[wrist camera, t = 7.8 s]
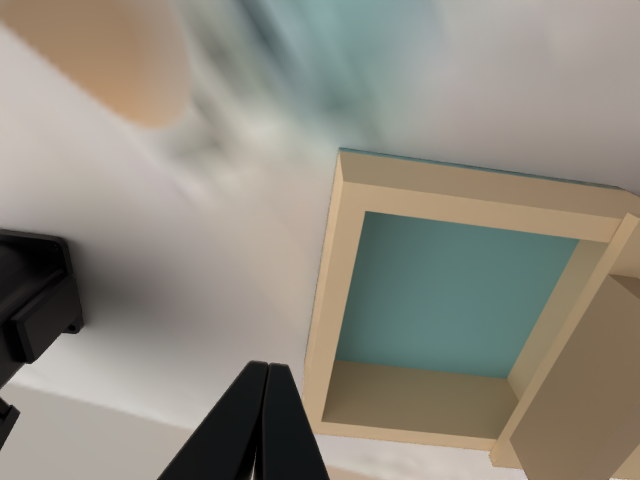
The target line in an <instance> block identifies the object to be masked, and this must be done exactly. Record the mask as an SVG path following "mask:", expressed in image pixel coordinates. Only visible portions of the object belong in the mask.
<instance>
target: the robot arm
mask: <svg viewBox="0 0 640 480" xmlns="http://www.w3.org/2000/svg"><path fill="white" fill-rule="evenodd" d="M54 245H55V246H57V248H58V249H57V248H56V247H54ZM73 325H74V326H73ZM83 327H84V323H83V318H82V313H81V305H80V300H79V296H78V291H77V286H76V281H75V278H74V275H73V270H72V265H71V261H70V256H69V251H68V246H67V244H66V242H65V241H64V240H63V239H61V238H59V237H55V236H46V235H38V234H30V233H22V232H14V231H6V230H0V389H1V388H2V387H3V386H4V385H5V384H6V383H7V382H8V381H9V380H10V379H11V378H12V377H13V376H14V375H15V373H16V372H17V371H18V370H19V369H20V368H21V367H22V366H23V365H24V364H25V363H26V364H32V363H33V362H34V361H36V360H37V359H38V358H39V357H40V356H41V355H42V354H43V353H44V352H45V350H46V349H47V348H48V347H49V346H50V345H51V344H52V343H53V342H54V341H55V340H56V339H57V337H58V336H59V335H60V334H61V333H69V334H77V333H79V332H80V330H81V329H82V328H83ZM268 367H269V368H268ZM19 414H20V411H19V410H17V409H16V408H15V407H14V406H13V405H9V404H8V403H6V402H5V401H4V400H3V399H2V398H1V397H0V450H1V448H2V446H3V445H4V442H5V441H6V439H7V437H8V435H9V433H10V432H11V430H12V428H13V426H14V424H15V422H16V420H17V419H18V417H19ZM256 449H257V450H256ZM255 456H256V457H255ZM254 462H255V465H254ZM253 467H254V475H253V480H330V479H329V476H328V473H327V471H326V468H325V465H324V462H323V459H322V456H321V454H320V451H319V448H318V445H317V443H316V440H315V437H314V434H313V432H312V429H311V426H310V423H309V421H308V418H307V415H306V412H305V410H304V407H303V404H302V401H301V398H300V396H299V393H298V390H297V387H296V385H295V382H294V379H293V376H292V374H291V371H290V368H289V366H288V365H286V364H280V363H270V364H269V365H268V363H267V362H262V361H254V360H252V361H250V362H248V363H247V365H246V366H245V367H244V369H243V370H242V371H241V372H240V374H239V375H238V376H237V378H236V379H235V380H234V381H233V383H232V384H231V385H230V386H229V388H228V389H227V390H226V392H225V393H224V394H223V395H222V397H221V398H220V399H219V401H218V402H217V403H216V404H215V406H214V407H213V408H212V410H211V411H210V412H209V413H208V415H207V416H206V417H205V419H204V420H203V421H202V422H201V424H200V425H199V426H198V427H197V429H196V430H195V431H194V433H193V434H192V435H191V436H190V438H189V439H188V440H187V442H186V443H185V444H184V445H183V447H182V448H181V449H180V451H179V452H178V453H177V454H176V456H175V457H174V458H173V460H172V461H171V462H170V463H169V465H168V466H167V467H166V468H165V470H164V471H163V472H162V474H161V475H160V476H159V477H158V479H157V480H251V477H252V473H253Z"/></svg>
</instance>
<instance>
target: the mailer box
mask: <svg viewBox="0 0 640 480" xmlns="http://www.w3.org/2000/svg"><path fill="white" fill-rule="evenodd" d="M627 212H628V213H636V214H640V197H638V196H636V195H634V194H632V193H630V192H628V191H626V190H623V189H621V188H619V187H615V186H608V185H601V184H594V183H587V182H580V181H573V180H566V179H559V178H551V177H544V176H537V175H530V174H523V173H516V172H509V171H502V170H494V169H487V168H480V167H473V166H466V165H459V164H452V163H445V162H437V161H430V160H423V159H416V158H409V157H402V156H395V155H388V154H381V153H373V152H366V151H359V150H352V149H345V148H339V149H338V155H337V161H336V168H335V174H334V180H333V186H332V193H331V199H330V205H329V211H328V218H327V224H326V230H325V237H324V243H323V249H322V255H321V262H320V268H319V274H318V280H317V287H316V293H315V299H314V305H313V312H312V318H311V324H310V330H309V337H308V343H307V349H306V355H305V363H304V378H303V393H302V404H303V407H304V410H305V412H306V415H307V418H308V421H309V423H310V426H311V429H312V432H313V433H314V434H324V435H334V436H344V437H354V438H364V439H374V440H384V441H394V442H404V443H414V444H424V445H434V446H444V447H454V448H464V449H474V450H484V451H491V450H492V449H493V447H494V445H495V443H496V442H497V440H498V438H499V436H500V435H501V433H502V431H503V429H504V428H505V426H506V424H507V422H508V421H509V419H510V417H511V415H512V414H513V412H514V410H515V408H516V407H517V405H518V403H519V401H520V400H521V398H522V396H523V394H524V393H525V391H526V389H527V387H528V386H529V384H530V382H531V380H532V379H533V377H534V375H535V373H536V372H537V370H538V368H539V366H540V365H541V363H542V361H543V359H544V358H545V356H546V354H547V352H548V351H549V349H550V347H551V345H552V344H553V342H554V340H555V338H556V337H557V335H558V333H559V331H560V330H561V328H562V326H563V324H564V323H565V321H566V319H567V317H568V316H569V314H570V312H571V310H572V309H573V307H574V305H575V303H576V302H577V300H578V298H579V296H580V295H581V293H582V291H583V289H584V288H585V286H586V284H587V282H588V281H589V279H590V277H591V275H592V274H593V272H594V270H595V268H596V267H597V265H598V263H599V261H600V260H601V258H602V256H603V254H604V253H605V251H606V249H607V247H608V246H609V244H610V242H611V240H612V239H613V237H614V235H615V233H616V232H617V230H618V228H619V226H620V225H621V223H622V221H623V219H624V218H625V216H626V214H627Z"/></svg>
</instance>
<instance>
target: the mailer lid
mask: <svg viewBox="0 0 640 480" xmlns="http://www.w3.org/2000/svg"><path fill="white" fill-rule="evenodd" d="M489 457H490V460H491V462H492V465H493V466H494V467H504V468H515V469H523V470H524V472H525V474H526V476H527V478H528V480H609V479H610V478H617V479H627V480H640V214H636V213H628V212H627V214H626V216H625V218H624V219H623V221H622V223H621V225H620V226H619V228H618V230H617V232H616V233H615V235H614V237H613V239H612V240H611V242H610V244H609V246H608V247H607V249H606V251H605V253H604V254H603V256H602V258H601V260H600V261H599V263H598V265H597V267H596V268H595V270H594V272H593V274H592V275H591V277H590V279H589V281H588V282H587V284H586V286H585V288H584V289H583V291H582V293H581V295H580V296H579V298H578V300H577V302H576V303H575V305H574V307H573V309H572V310H571V312H570V314H569V316H568V317H567V319H566V321H565V323H564V324H563V326H562V328H561V330H560V331H559V333H558V335H557V337H556V338H555V340H554V342H553V344H552V345H551V347H550V349H549V351H548V352H547V354H546V356H545V358H544V359H543V361H542V363H541V365H540V366H539V368H538V370H537V372H536V373H535V375H534V377H533V379H532V380H531V382H530V384H529V386H528V387H527V389H526V391H525V393H524V394H523V396H522V398H521V400H520V401H519V403H518V405H517V407H516V408H515V410H514V412H513V414H512V415H511V417H510V419H509V421H508V422H507V424H506V426H505V428H504V429H503V431H502V433H501V435H500V436H499V438H498V440H497V442H496V443H495V445H494V447H493V449H492V450H491V452H490V454H489Z"/></svg>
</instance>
